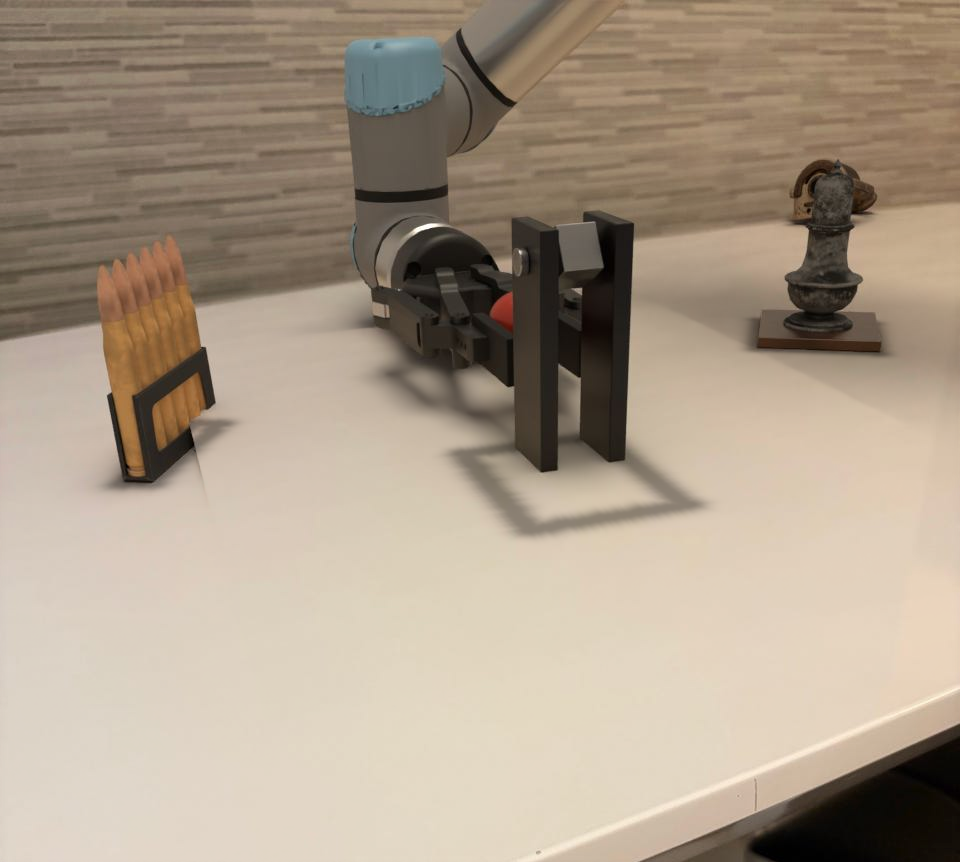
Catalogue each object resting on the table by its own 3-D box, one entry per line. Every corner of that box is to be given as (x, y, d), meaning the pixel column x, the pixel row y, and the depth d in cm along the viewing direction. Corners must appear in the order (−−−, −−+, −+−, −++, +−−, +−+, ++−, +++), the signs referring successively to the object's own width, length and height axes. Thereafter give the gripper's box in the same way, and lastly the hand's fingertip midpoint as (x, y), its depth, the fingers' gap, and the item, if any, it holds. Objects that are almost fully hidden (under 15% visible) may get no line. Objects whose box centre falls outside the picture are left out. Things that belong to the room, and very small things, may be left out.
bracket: (463, 452, 66) (453, 210, 59) (600, 432, 68) (606, 197, 61) (530, 528, 56) (527, 248, 49) (688, 502, 58) (707, 231, 51)
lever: (487, 363, 67) (477, 306, 67) (542, 357, 67) (531, 300, 67) (553, 284, 54) (539, 213, 54) (619, 277, 55) (606, 208, 55)
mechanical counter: (765, 170, 129) (823, 158, 121) (847, 150, 134) (909, 137, 125) (772, 233, 132) (830, 225, 123) (852, 211, 136) (913, 202, 127)
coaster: (873, 322, 89) (875, 312, 88) (880, 351, 81) (881, 341, 81) (761, 318, 91) (761, 308, 90) (757, 347, 83) (758, 337, 83)
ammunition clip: (151, 482, 63) (109, 268, 57) (122, 481, 63) (77, 268, 57) (219, 422, 72) (190, 232, 66) (193, 421, 72) (161, 232, 66)
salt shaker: (808, 310, 89) (827, 152, 83) (871, 323, 85) (896, 157, 79) (764, 324, 86) (780, 160, 80) (827, 337, 82) (850, 166, 76)
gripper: (542, 317, 85) (678, 404, 65) (332, 341, 80) (411, 441, 61) (542, 215, 81) (686, 275, 61) (321, 235, 77) (402, 306, 57)
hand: (549, 358), depth 61 cm, fingers closed on lever, 4 cm apart
